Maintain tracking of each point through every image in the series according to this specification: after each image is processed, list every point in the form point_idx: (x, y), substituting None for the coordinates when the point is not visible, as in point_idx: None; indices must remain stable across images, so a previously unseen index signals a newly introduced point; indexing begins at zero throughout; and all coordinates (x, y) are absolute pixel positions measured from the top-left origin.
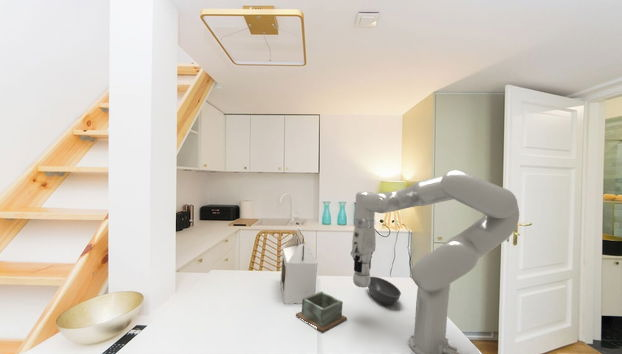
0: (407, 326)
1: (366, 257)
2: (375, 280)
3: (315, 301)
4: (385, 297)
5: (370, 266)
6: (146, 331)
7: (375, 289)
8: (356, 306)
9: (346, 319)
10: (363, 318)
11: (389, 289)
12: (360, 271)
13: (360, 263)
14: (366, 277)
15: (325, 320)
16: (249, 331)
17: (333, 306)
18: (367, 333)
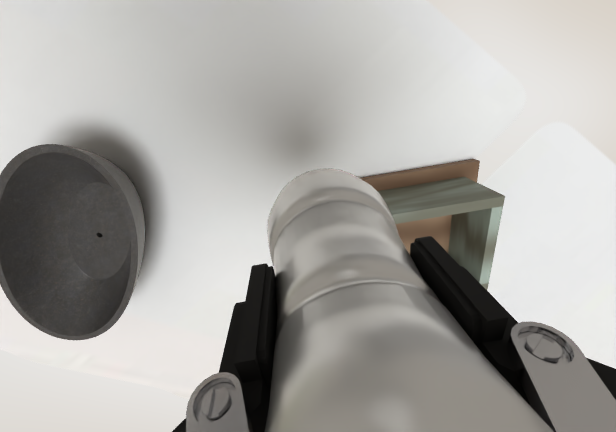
0: (151, 13)
1: (476, 382)
2: (59, 316)
3: None
4: (125, 184)
5: (250, 282)
6: None
7: (134, 247)
8: (250, 229)
9: None
10: (287, 159)
11: (33, 245)
12: (433, 243)
13: (491, 310)
14: (354, 195)
15: (460, 184)
16: (595, 253)
17: (442, 205)
18: (352, 76)
